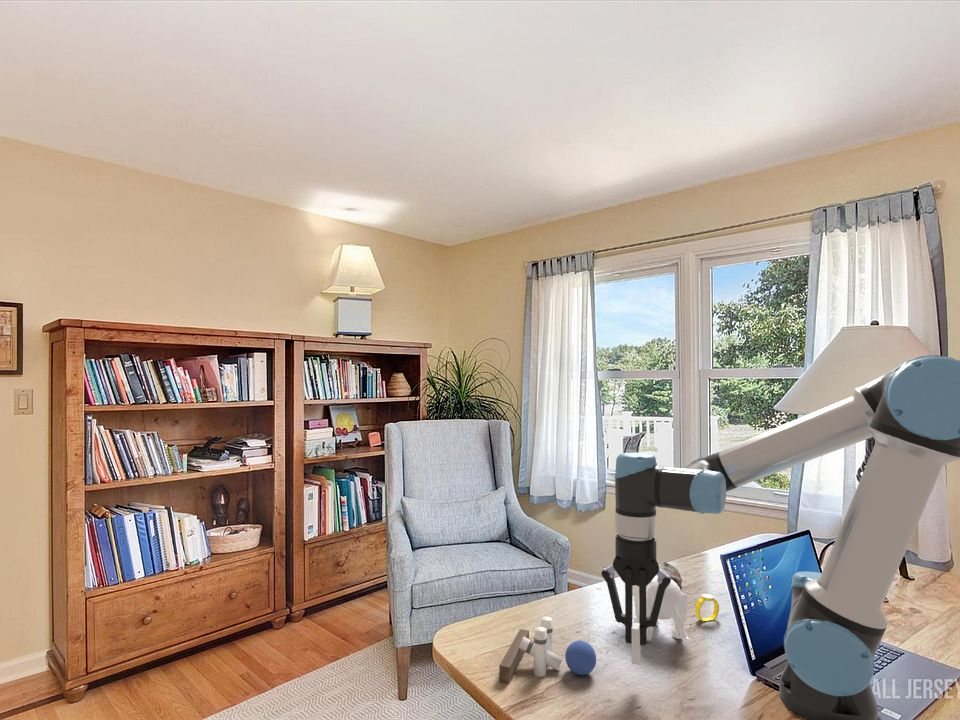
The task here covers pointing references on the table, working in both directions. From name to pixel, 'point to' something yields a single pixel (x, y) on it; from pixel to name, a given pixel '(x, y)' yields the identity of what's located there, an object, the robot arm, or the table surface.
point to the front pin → (551, 658)
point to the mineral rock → (671, 572)
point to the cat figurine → (664, 606)
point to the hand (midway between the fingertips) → (636, 660)
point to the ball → (580, 657)
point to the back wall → (512, 658)
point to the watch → (697, 608)
